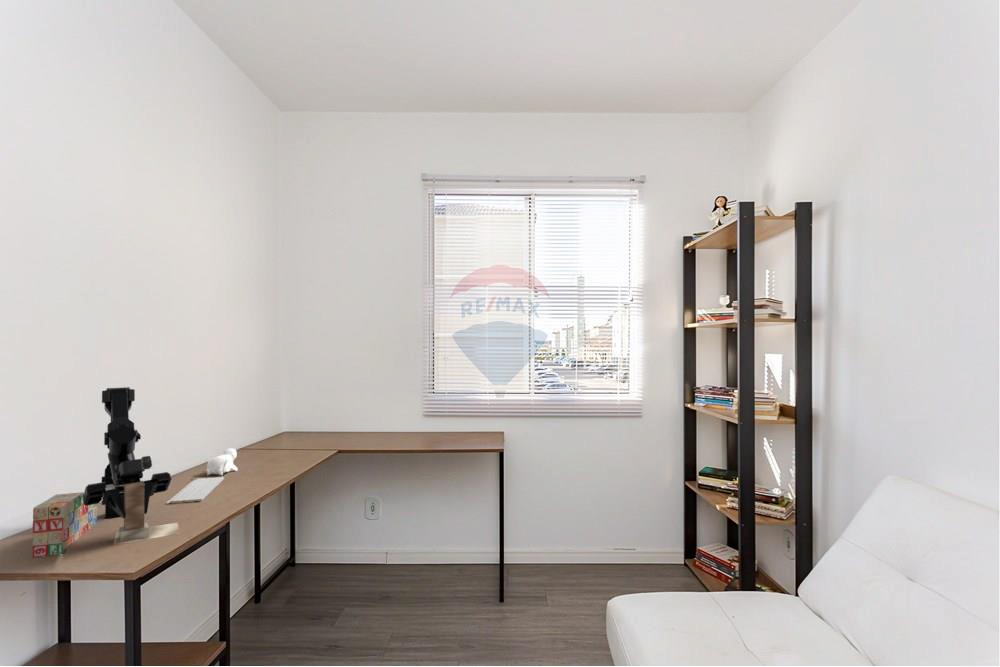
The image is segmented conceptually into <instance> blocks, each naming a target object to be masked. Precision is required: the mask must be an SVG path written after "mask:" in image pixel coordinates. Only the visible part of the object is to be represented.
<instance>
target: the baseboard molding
mask: <svg viewBox="0 0 1000 667" xmlns="http://www.w3.org/2000/svg"><path fill="white" fill-rule="evenodd" d="M208 475H210V476H211V474H207V473H206V476H208ZM212 476H214V477H203V478H200V477H199V476H196V475H194V477H191V481H190V482H189V483H188V484H187V485H186V486H184V487H183V488H182V489H181V490H180V491H179V492H177V493H176V494H175V495H174V496H172V497H171V498H170V499H168V500H167V501H166V502H165V505H170V504H169V503H178V504H181V503H180V502H191V503H193V502H192V501H202V500H203V499H204V498H205V497H206V496H207V495H208V494H209V493H210V492H211V491H212V490H213V489H214V488H215V487H216V486H217V487H218V486H219V485H220V483H221V482H223V480H225V477H224V476H225V473H223V476H217V474H212ZM215 476H217V477H215ZM197 477H198V478H197ZM193 478H196V479H194V480H193ZM217 487H216V488H217ZM216 488H215V489H216ZM215 489H214V490H215ZM214 490H213V491H214ZM211 493H212V492H211ZM211 493H210V494H211ZM210 494H209V495H210ZM207 497H208V496H207ZM207 497H206V498H207ZM206 498H205V499H206ZM205 499H204V500H205ZM204 500H203V501H204ZM203 501H202V502H203Z"/></svg>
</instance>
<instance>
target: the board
mask: <svg viewBox="0 0 1000 667" xmlns="http://www.w3.org/2000/svg"><path fill="white" fill-rule="evenodd" d="M175 535H180V528H179V522H177V521H176V522H173V523H172V522H171V523H167V524H158V525H154V526H152V525H151V526H149V537H146V538H141V539H136V540H131V541H126V542H121V541H120V538H119V531H115V535H114V540H113V546H114V545H122V544H128V543H134V542H140V541H146V540H152V539H156V538H157V539H159V538H164V537H169V536H175Z"/></svg>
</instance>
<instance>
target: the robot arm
mask: <svg viewBox="0 0 1000 667" xmlns="http://www.w3.org/2000/svg"><path fill="white" fill-rule="evenodd" d="M135 392H136V391H135V389H134V388H130V387H129V386H128V387H127V386H126V387H125V386H124V387H107V388H106V389H105V390H102V391H101V404H104V412H106V413H107V415H108V416H109V417H110V422H109V423H108V424H107V425H106V426H107V427H106V428H107V432H104V434H103V435H104V436H103V437H104V438H103V442H104V443H103V444H104V445H103V446H106V448H107V449H108V453H107V457H108V464H107V465H106V467H105V469H104V476H103V475H102V476H101V482H96V483H90V484H87V485H86V486H85V489H84V495H83V502H84V505H86V506H87V505H93V504H100V503H101V505H102V506H104V508H105V509H104V511H105V512H104V517H103V518H104V519H110V518H115V517H116V518H117V517H120V518H122V519H124V518H125V516H126V515H125V510H124V484H131V483H138V482H143V483H144V515H147V513H148V508H149V502H150V498H151V497H153V496H154V494H158V493H163V492H166V491H168V489H169V486H170V484H171V482H172V476H171V473H169V472H167V471H165V472H157V473H153V474H152V476H151V478H150V479H148V480H141V479H143V477H144V474H143V472H145V470H149V469H151V468H152V467H153V461H152V459H151V456H150V455H147V456H142V457H141V458H138V459H137V458H135V453H134V451H135V449H136V443H138V442H139V440H142V439H141V438H142V437H141V433H139V431H138V429H135V423H134V422H133V421H132V420H131V419H130V417H129V416H130V415H129V412H130V411H131V408H132V404H133V402H135V400H136V398H135V396H136V394H135Z"/></svg>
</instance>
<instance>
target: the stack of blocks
mask: <svg viewBox="0 0 1000 667" xmlns="http://www.w3.org/2000/svg"><path fill="white" fill-rule="evenodd" d="M84 492H85V491H84ZM84 492H83V491H79V492H71V493H58V494H57V493H56V494H54V495H52V496H51V497H49V498H48V499H47V500H44V501H43V502H41V503H40V504H38V505H36V506H34V507H33V508H32V509H33V510H32V519H33V520H32V557H31V558H33V559H35V558H34V557H37V558H43V557H42V556H46V557H50V556H49V555H55V556H60V555H59V554H63V555H64V554H65V553H66V551H67V548H68V546H70V545H72V544H73V543H74V542H75V541H76V540H78V539H79V538H80V537H81V536H82V535H83V534H85V533H86V532H87V531H89V530H90V529H92V528H93V527H94V526H95V525H96V524H98V505H97V504H93V505H87V506H86V505H84V502H83V495H84Z"/></svg>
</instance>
